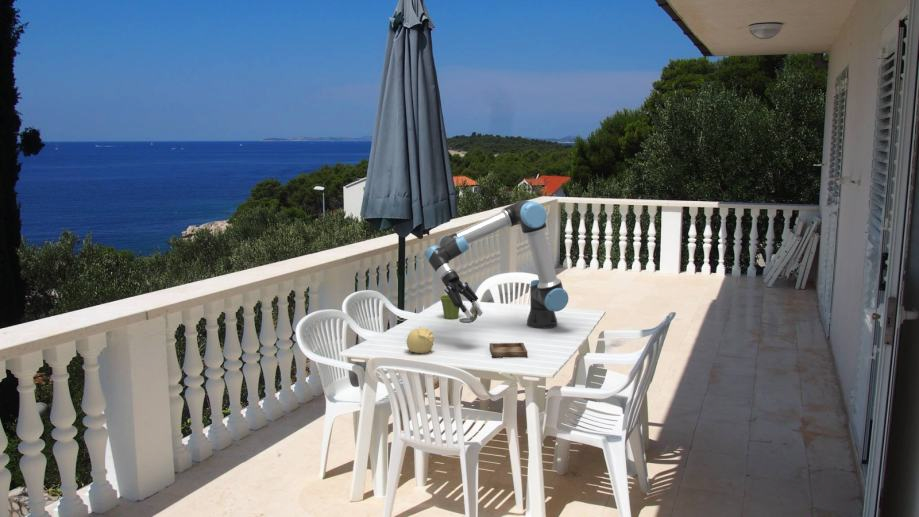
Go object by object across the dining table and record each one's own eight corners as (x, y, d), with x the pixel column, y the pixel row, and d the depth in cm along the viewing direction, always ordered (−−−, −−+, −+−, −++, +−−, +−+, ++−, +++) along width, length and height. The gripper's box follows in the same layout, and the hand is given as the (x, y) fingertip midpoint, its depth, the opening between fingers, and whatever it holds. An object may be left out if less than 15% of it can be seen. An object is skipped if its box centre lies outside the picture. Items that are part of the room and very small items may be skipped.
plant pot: (466, 316, 398) (466, 295, 396) (454, 321, 388) (454, 299, 386) (448, 314, 404) (447, 293, 403) (435, 318, 394) (435, 297, 393)
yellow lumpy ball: (431, 355, 325) (430, 331, 323) (404, 354, 327) (403, 330, 325) (436, 348, 336) (436, 325, 334) (410, 347, 338) (409, 324, 336)
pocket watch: (458, 320, 339) (458, 298, 337) (477, 319, 339) (477, 298, 338) (459, 324, 331) (459, 302, 329) (479, 324, 331) (478, 301, 330)
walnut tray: (523, 348, 335) (523, 342, 335) (527, 357, 320) (527, 351, 320) (489, 348, 335) (489, 343, 334) (492, 358, 320) (492, 352, 320)
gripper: (458, 277, 350) (485, 316, 342) (429, 283, 336) (456, 324, 327) (466, 267, 346) (494, 306, 337) (437, 273, 332) (465, 314, 323)
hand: (475, 315), depth 332 cm, fingers closed on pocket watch, 7 cm apart
